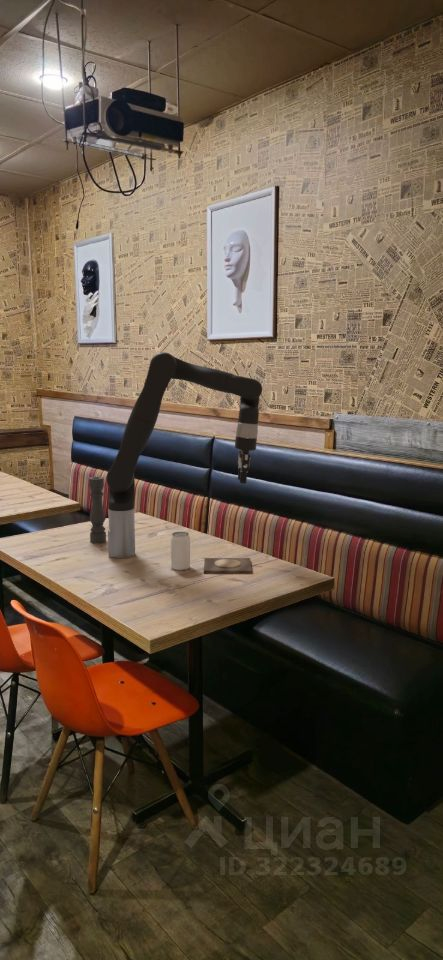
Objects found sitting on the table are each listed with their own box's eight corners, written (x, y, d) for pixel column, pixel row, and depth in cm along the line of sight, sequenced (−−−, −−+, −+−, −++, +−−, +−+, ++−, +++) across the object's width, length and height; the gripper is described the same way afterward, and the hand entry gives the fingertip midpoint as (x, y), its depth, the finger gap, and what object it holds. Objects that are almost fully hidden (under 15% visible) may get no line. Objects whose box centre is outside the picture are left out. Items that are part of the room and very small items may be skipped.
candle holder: (104, 543, 258) (102, 479, 253) (88, 543, 258) (86, 479, 253) (107, 539, 264) (105, 476, 259) (91, 539, 264) (89, 476, 259)
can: (191, 565, 231) (191, 531, 229) (188, 571, 225) (188, 536, 223) (172, 564, 232) (172, 531, 230) (169, 570, 225) (169, 535, 223)
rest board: (203, 573, 222) (203, 569, 222) (204, 560, 236) (204, 556, 236) (251, 573, 222) (251, 569, 222) (249, 560, 236) (250, 556, 236)
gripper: (234, 433, 242) (229, 477, 245) (237, 436, 228) (232, 483, 231) (254, 435, 243) (250, 479, 245) (259, 438, 229) (254, 485, 231)
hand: (241, 481), depth 238 cm, fingers open, 8 cm apart
